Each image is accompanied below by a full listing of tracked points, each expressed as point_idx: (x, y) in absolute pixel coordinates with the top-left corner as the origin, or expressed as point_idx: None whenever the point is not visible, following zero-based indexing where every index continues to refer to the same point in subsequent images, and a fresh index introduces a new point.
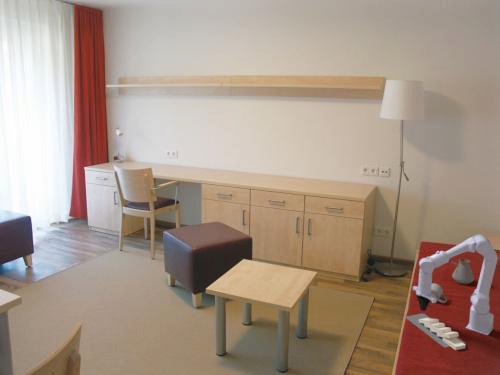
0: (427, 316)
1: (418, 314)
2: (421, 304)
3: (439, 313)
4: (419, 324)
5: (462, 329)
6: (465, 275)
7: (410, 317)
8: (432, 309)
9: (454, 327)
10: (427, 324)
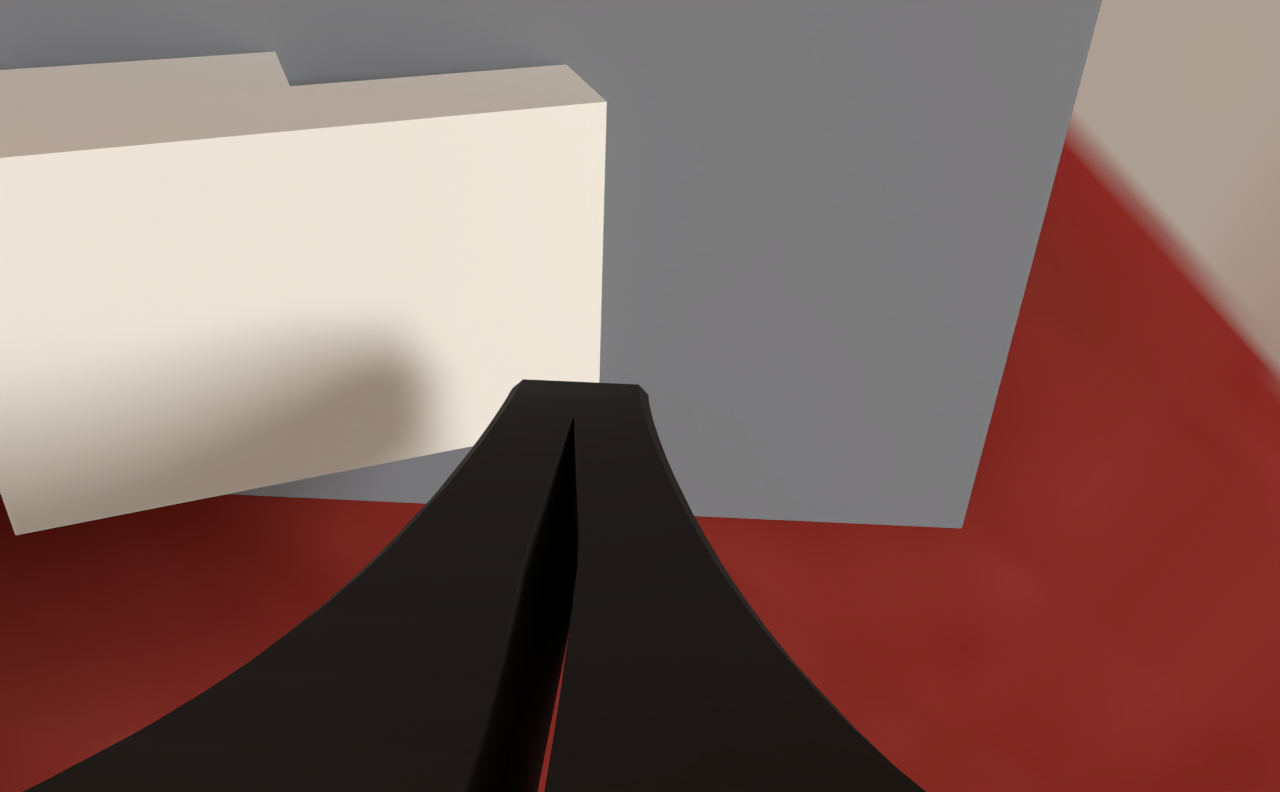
0: (778, 508)
1: (983, 381)
2: (478, 562)
3: None
4: (468, 4)
5: (75, 739)
6: None
7: (980, 39)
8: (1002, 775)
9: (175, 675)
10: (73, 99)
